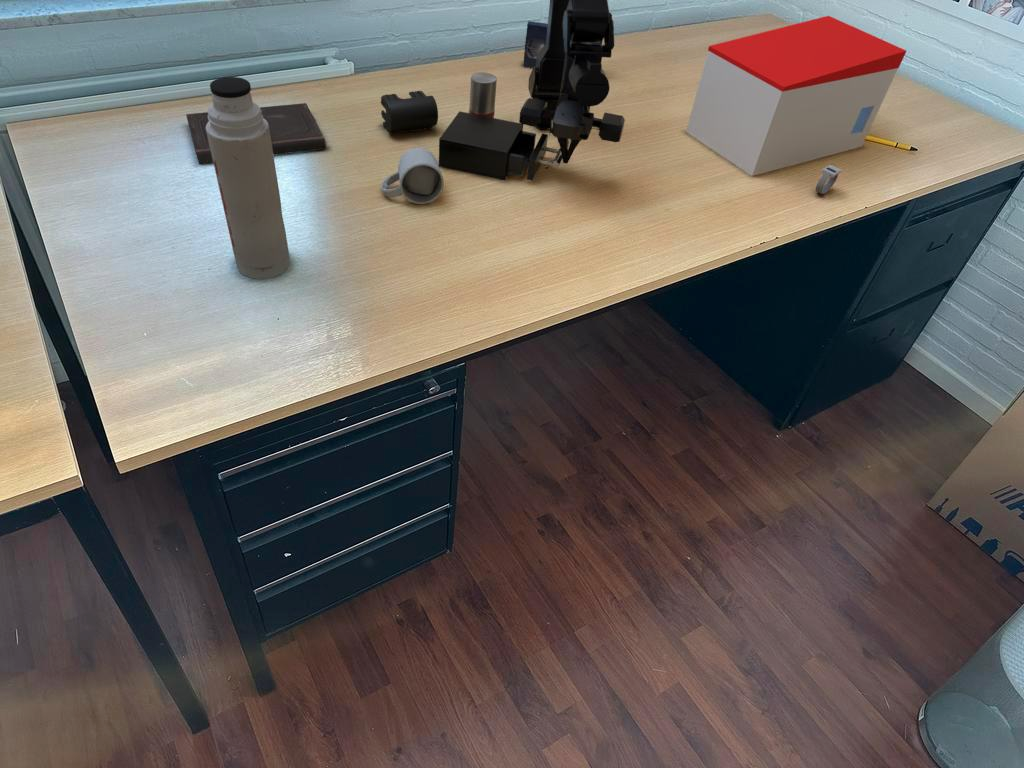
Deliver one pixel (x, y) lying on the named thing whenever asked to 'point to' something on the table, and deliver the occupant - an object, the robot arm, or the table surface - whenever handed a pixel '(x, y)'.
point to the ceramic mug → (416, 177)
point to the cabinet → (478, 145)
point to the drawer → (530, 155)
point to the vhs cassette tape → (536, 42)
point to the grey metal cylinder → (483, 94)
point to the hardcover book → (286, 126)
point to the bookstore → (792, 93)
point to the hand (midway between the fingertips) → (565, 162)
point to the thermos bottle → (247, 179)
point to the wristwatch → (827, 172)
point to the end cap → (409, 112)
